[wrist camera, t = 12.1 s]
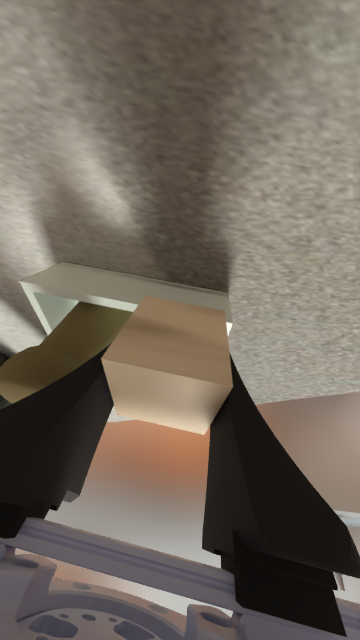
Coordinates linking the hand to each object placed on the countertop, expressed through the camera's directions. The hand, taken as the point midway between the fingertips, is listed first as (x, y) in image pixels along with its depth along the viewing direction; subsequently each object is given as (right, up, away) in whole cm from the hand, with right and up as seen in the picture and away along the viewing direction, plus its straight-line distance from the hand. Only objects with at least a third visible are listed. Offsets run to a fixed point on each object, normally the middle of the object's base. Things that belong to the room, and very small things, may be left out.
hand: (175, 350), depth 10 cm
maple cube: (0, +1, +1) cm, 2 cm away
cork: (-8, +3, +9) cm, 12 cm away
